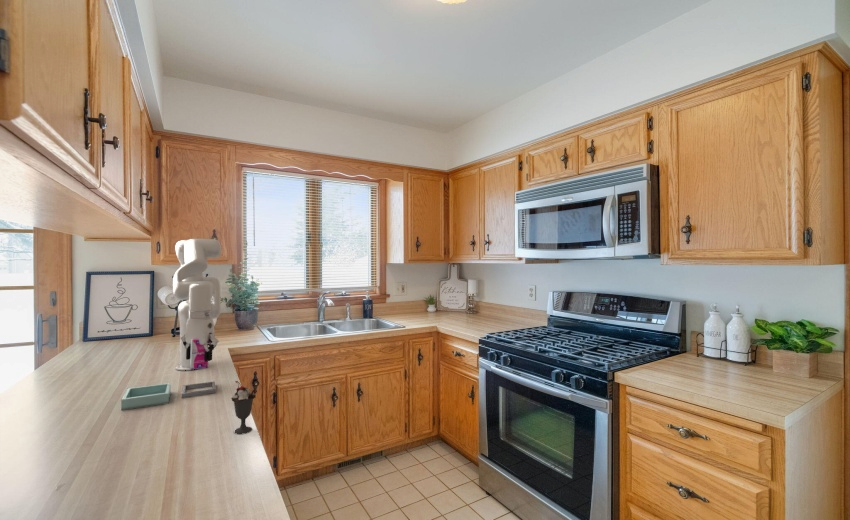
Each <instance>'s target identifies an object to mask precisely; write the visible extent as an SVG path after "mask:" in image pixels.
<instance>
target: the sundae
mask: <svg viewBox="0 0 850 520" xmlns="http://www.w3.org/2000/svg"><path fill="white" fill-rule="evenodd" d="M235 383H236V384H238V387H236V391H235V392H234V394H233V395H232V397H231V398H230V399H231V401H232V402H233V405H234V413H235V416H236V417H237V418H238V419H239V420H240V427H237V428H236V430H235V429H234V430H235V433H237V434H236V435H243V434H242V433H245V434H248V433H250V432H251V431H252V430H253V428H252V426H247V425H246V419H248V418H249V416H250V415H251V412H252V408H253V402H254V400H255V399H256V394H255V393H254V392H255V389H252V391H251V390H250V388H248V387H244V386H243V385H241V383H240V382H239V381H238V380H235ZM247 432H248V433H247ZM235 433H234V434H235Z"/></svg>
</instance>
